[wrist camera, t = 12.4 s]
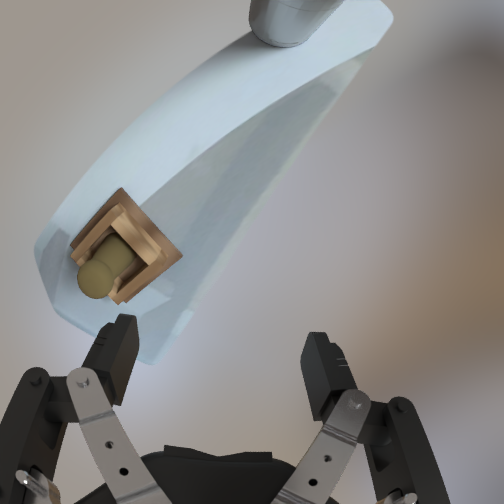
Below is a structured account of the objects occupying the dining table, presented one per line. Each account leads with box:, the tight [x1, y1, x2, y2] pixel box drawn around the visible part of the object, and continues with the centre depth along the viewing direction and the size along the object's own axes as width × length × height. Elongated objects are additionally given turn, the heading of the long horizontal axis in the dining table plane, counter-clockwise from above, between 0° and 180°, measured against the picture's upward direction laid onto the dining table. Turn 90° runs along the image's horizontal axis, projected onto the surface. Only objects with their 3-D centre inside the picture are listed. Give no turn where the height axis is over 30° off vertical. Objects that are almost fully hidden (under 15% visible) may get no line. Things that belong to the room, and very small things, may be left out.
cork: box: [77, 232, 136, 299], centre depth 37 cm, size 6×6×11 cm
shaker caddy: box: [70, 188, 183, 305], centre depth 40 cm, size 14×14×4 cm
